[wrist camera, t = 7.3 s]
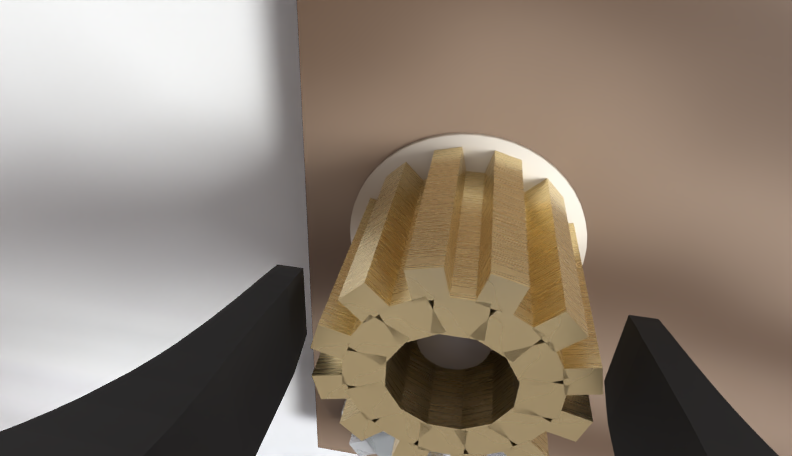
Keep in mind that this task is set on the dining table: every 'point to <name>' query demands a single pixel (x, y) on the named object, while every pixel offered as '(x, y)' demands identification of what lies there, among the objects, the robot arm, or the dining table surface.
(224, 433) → the robot arm
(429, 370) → the brass gear
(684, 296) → the gear board
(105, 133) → the dining table surface
